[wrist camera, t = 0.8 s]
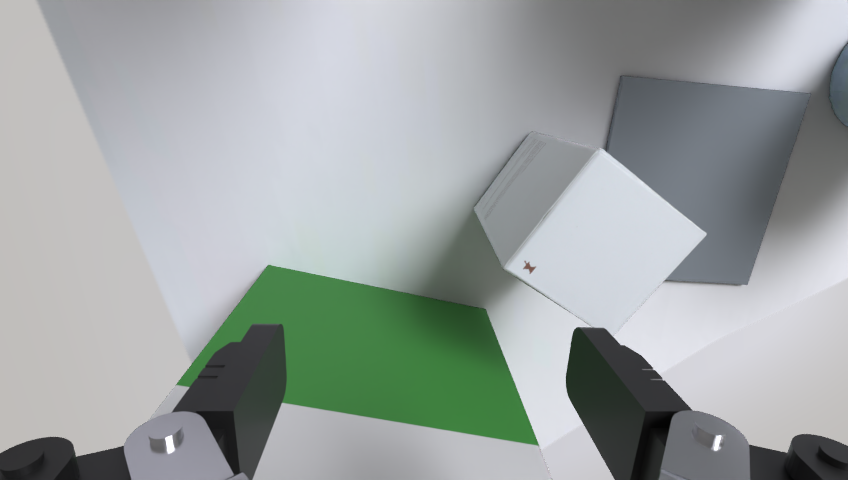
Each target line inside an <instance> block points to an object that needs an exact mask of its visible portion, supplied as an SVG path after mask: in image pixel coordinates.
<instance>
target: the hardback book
mask: <svg viewBox="0 0 848 480" xmlns="http://www.w3.org/2000/svg"><path fill="white" fill-rule="evenodd" d="M252 324H282V325H283V328H284V338H285V354H286V370H287V383H286V391H285V395H284V399H283V402H282V404H281V407H280V409H279V412H278V415H277V417H276V420H275V422H274V425H273V427H272V430H271V433H270V435H269V438H268V440H267V443H266V446H265V448H264V451H263V453H262V456H261V459H260V461H259V464H258V466H257V469H256V472H255V474H254V477H253V479H252V480H552V478H551V475H550V472H549V470H548V467H547V465H546V462H545V459H544V457H543V455H542V452H541V449H540V447H539V444H538V442H537V439H536V437H535V434H534V432H533V429H532V426H531V424H530V421H529V419H528V416H527V414H526V411H525V409H524V406H523V404H522V401H521V398H520V396H519V393H518V391H517V388H516V386H515V383H514V381H513V378H512V376H511V373H510V371H509V368H508V365H507V363H506V360H505V358H504V355H503V353H502V350H501V348H500V345H499V343H498V340H497V337H496V335H495V332H494V330H493V327H492V325H491V322H490V320H489V317H488V315H487V312H486V310H485V309H482V308H477V307H472V306H467V305H462V304H457V303H452V302H447V301H443V300H438V299H433V298H428V297H423V296H418V295H413V294H408V293H403V292H398V291H394V290H389V289H384V288H379V287H374V286H369V285H364V284H359V283H354V282H349V281H345V280H340V279H335V278H330V277H325V276H320V275H315V274H310V273H305V272H300V271H295V270H291V269H286V268H281V267H276V266H271V265H268V266H267V267H266V269H265V270H264V271H263V273H262V274H261V275H260V276H259V278H258V279H257V280H256V282H255V283H254V284H253V286H252V287H251V288H250V289H249V291H248V292H247V293H246V295H245V296H244V297H243V298H242V300H241V301H240V302H239V304H238V305H237V306H236V308H235V309H234V310H233V311H232V313H231V314H230V315H229V317H228V318H227V319H226V321H225V322H224V323H223V324H222V326H221V327H220V328H219V330H218V331H217V332H216V334H215V335H214V336H213V337H212V339H211V340H210V341H209V343H208V344H207V345H206V347H205V348H204V349H203V350H202V352H201V353H200V354H199V356H198V357H197V358H196V359H195V361H194V362H193V363H192V365H191V366H190V367H189V369H188V370H187V371H186V373H185V374H184V375H183V376H182V378H181V379H180V380H179V382H178V383H177V384H176V385H175V387H174V388H173V389H172V391H171V392H170V393H169V395H168V396H167V397H166V398H165V400H164V401H163V402H162V404H161V405H160V406H159V407H158V409H157V410H156V411H155V413H154V414H153V415H152V417H151V418H150V420H151V419H153V418H155V417H158V416H161V415H164V414H168V413H171V412H172V411H173V409H174V408H175V407H176V405H177V404H178V402H179V401H180V400H181V398H182V397H183V396H184V394H185V393H186V391H187V390H188V389H189V387H190V386H191V385H192V383H193V382H194V380H195V379H197V378H198V375H199V373H200V372H201V371H202V369H203V368H205V365H206V364H207V362H208V361H209V360H210V358H211V357H212V356H213V354H214V353H215V352H216V351H218V350H219V349H221V348H222V347H224V346H225V345H227V344H228V343H230V342H241V340H242V339H243V337H244V336H245V334H246V333H247V331H248V330H249V328H250V326H251V325H252Z"/></svg>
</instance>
